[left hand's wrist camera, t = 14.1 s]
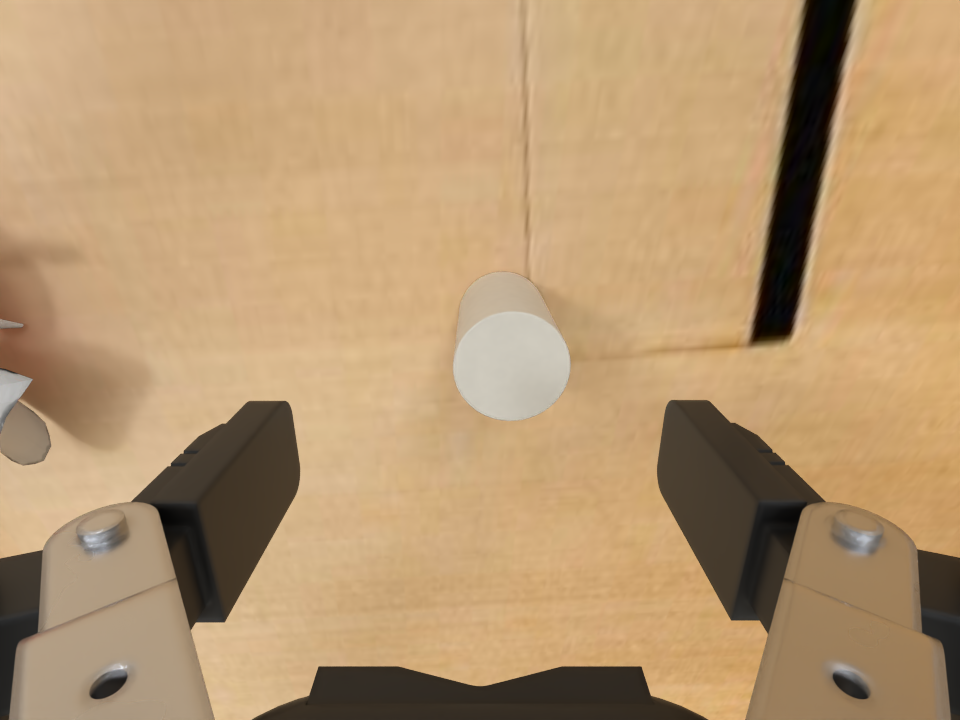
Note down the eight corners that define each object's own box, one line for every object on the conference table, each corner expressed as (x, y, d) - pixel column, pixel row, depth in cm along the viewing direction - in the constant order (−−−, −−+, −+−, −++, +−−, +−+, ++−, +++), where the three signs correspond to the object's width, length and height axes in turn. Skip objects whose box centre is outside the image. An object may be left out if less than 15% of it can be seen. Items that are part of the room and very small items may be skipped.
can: (490, 369, 30) (496, 441, 22) (441, 303, 29) (429, 355, 21) (560, 324, 29) (592, 382, 21) (513, 253, 28) (529, 287, 20)
